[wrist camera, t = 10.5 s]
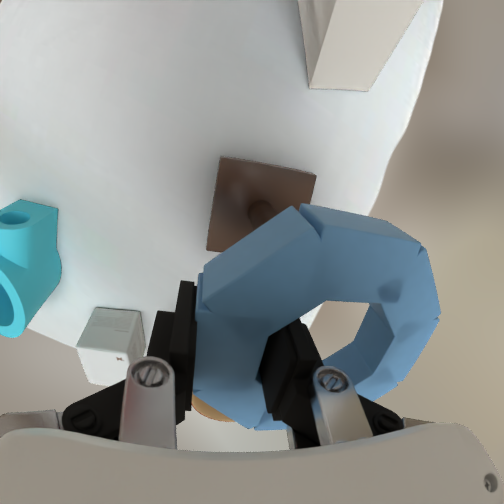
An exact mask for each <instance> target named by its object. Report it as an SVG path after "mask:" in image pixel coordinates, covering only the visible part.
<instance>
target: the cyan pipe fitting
mask: <svg viewBox="0 0 504 504" xmlns="http://www.w3.org/2000/svg"><path fill="white" fill-rule="evenodd" d="M57 216H58V209H57V208H53V207H49V206H45V205H41V204H37V203H33V202H29V201H25V200H21V199H20V200H18V201H16V202H14V203H12V204H10V205H8V206H7V207H5V208H3V209H1V210H0V334H1V335H3V336H5V337H11V338H14V337H18V336H19V335H21V334H22V332H23V331H24V329H25V328H26V327H27V325H28V324H29V322H30V321H31V320H32V318H33V317H34V315H35V314H36V313H37V311H38V310H39V309H40V307H41V306H42V305H43V303H44V302H45V301H46V299H47V298H48V297H49V295H50V294H51V293H52V292H53V290H54V289H55V288H56V286H57V285H58V283H59V281H60V278H61V261H60V257H59V254H58V251H57V249H56V239H57Z"/></svg>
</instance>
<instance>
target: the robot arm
mask: <svg viewBox="0 0 504 504" xmlns="http://www.w3.org/2000/svg"><path fill="white" fill-rule="evenodd" d="M196 296H197V286H194V282H190V281H182V280H181V282H180V287H179V293H178V298H177V304H176V310H175V313H174V312H166V311H157V314H156V318H155V322H154V326H153V330H152V335H151V339H150V343H149V347H148V352H147V356H145V357H141V358H138V359H136V360H134V361H133V362H132V363H131V364H130V365H129V367H128V370H127V375H126V379H124V380H122V381H120V382H118V383H116V384H114V385H112V386H110V387H108V388H105V389H103V390H101V391H99V392H97V393H95V394H93V395H91V396H88V397H86V398H84V399H82V400H80V401H77V402H75V403H73V404H71V405H70V406H68V407H67V408H66V409H65V411H64V412H56V410H45V411H33V412H16V413H6V414H3V415H1V416H0V504H504V483H503V481H502V479H501V477H500V475H499V473H498V471H497V469H496V467H495V465H494V464H493V462H492V460H491V459H490V457H489V455H488V453H487V452H486V450H485V449H484V447H483V445H482V444H481V443H480V441H479V440H478V439H477V437H476V436H475V435H474V434H473V432H472V431H471V430H469V428H467V427H465V426H463V425H460V424H456V423H444V422H440V423H435V422H429V421H422V420H415V419H410V418H405V417H403V418H402V419H401V418H400V417H399V416H398V415H397V414H396V413H394V412H393V411H391V410H389V409H387V408H384V407H383V406H381V405H379V404H377V403H375V402H373V401H371V400H369V399H367V398H365V397H363V396H361V395H359V394H357V392H356V390H355V387H354V385H353V382H352V380H351V378H350V377H349V375H348V374H347V373H346V372H345V371H343V370H341V369H340V368H337V367H334V366H324V364H323V362H322V360H321V357H320V355H319V353H318V351H317V348H316V346H315V344H314V341H313V339H312V337H311V335H310V332H309V330H308V328H307V326H306V324H304V323H301V320H300V318H298V319H296V320H295V321H293V322H291V323H290V324H288V325H287V326H285V327H283V328H281V329H280V330H278V331H277V332H275V333H273V334H272V335H270V336H268V340H267V343H266V346H265V350H264V353H263V356H262V360H261V363H260V366H259V370H260V375H261V380H262V389H263V394H264V399H265V404H266V409H267V412H268V414H272V417H273V421H282V422H283V423H285V424H286V425H287V436H288V442H289V449H290V450H283V451H268V452H203V451H202V452H201V451H188V450H187V451H186V450H177V438H176V425H178V424H179V423H181V422H182V421H184V420H185V411H191V405H192V392H193V380H194V369H195V357H196V338H197V321H195V309H196Z"/></svg>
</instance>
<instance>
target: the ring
mask: <svg viewBox="0 0 504 504" xmlns="http://www.w3.org/2000/svg"><path fill="white" fill-rule="evenodd" d="M326 300H328V301H343V302H362V303H369V304H370V306H369V308H368V310H367V313H366V315H365V317H364V319H363V321H362V324H361V326H360V328H359V330H358V332H357V334H356V337H355V339H354V341H353V342H351V343H350V344H348V345H347V346H345V347H344V348H342V349H340V350H339V351H337V352H336V353H334V354H332V355H331V356H329V357H328V358H326V359H324V360H322V362H323V364H324V366H334V367H337V368H340V369H341V370H343V371H345V372H346V373H347V374H348V375H349V377H350V378H351V380H352V382H353V385H354V387H355V390H356V392H357V394H359V395H361V396H363V397H365V398H367V399H369V400H371V401H374V400H376V399H377V398H379V397H381V396H382V395H384V394H386V393H387V392H389V391H390V390H392V389H393V388H395V387H396V386H397V385H398V384H397V382H400V381H403V380H404V378H405V376H406V375H407V374H408V372H409V371H410V369H411V368H412V366H413V365H414V363H415V362H416V360H417V358H418V357H419V355H420V354H421V351H422V350H423V349H424V347H425V345H426V344H427V342H428V340H429V338H430V337H431V335H432V333H433V331H434V330H435V328H436V326H437V324H438V322H439V319H438V316H439V315H440V314H441V311H440V306H439V301H438V296H437V291H436V286H435V283H434V278H433V273H432V269H431V265H430V262H429V258H428V254H427V250H426V249H425V248H424V247H423V246H421V243H420V242H419V241H417V240H416V239H414V238H412V237H411V236H409V235H408V234H406V233H405V232H403V231H402V230H400V229H399V228H397V227H396V226H394V225H392V224H391V223H389V222H388V221H385V220H381V219H377V218H372V217H368V216H363V215H359V214H354V213H349V212H345V211H340V210H335V209H330V208H325V207H320V206H315V205H310V204H304V203H301V205H300V208H299V212H298V211H297V210H296V209H295V208H294V207H293V206H290V207H288V208H287V209H285V210H284V211H282V212H281V213H279V214H278V215H276V216H275V217H273V218H272V219H270V220H269V221H268V222H266V223H265V224H263V225H262V226H260V227H259V228H257V229H256V230H254V231H253V232H251V233H250V234H248V235H247V236H246V237H244V238H243V239H241V240H240V241H238V242H237V243H235V244H234V245H233V246H231V247H230V248H228V249H227V250H225V251H224V252H222V253H221V254H219V255H218V256H217V257H215V258H214V259H212V260H211V261H209V262H208V263H207V264H205V265H204V272H203V273H199V275H198V284H197V296H196V309H195V321H197V338H196V357H195V369H194V380H193V394H194V395H195V396H196V397H198V398H199V399H201V400H202V401H204V402H205V403H207V404H208V405H210V406H211V407H213V408H214V409H216V410H218V411H219V412H221V413H222V414H224V415H225V416H227V417H229V418H230V419H232V420H234V421H235V422H237V423H239V424H240V425H242V426H244V427H246V428H247V429H250V428H253V427H254V429H255V430H282V429H287V425H286V424H285V423H283V422H282V421H273V417H272V414H268V412H267V409H266V404H265V399H264V394H263V389H262V380H261V375H260V370H259V366H260V363H261V360H262V356H263V353H264V350H265V346H266V343H267V340H268V336H270V335H272V334H273V333H275V332H277V331H278V330H280V329H281V328H283V327H285V326H287V325H288V324H290V323H291V322H293V321H295V320H296V319H298V318H300V317H301V316H303V315H304V314H306V313H307V312H309V311H311V310H312V309H314V308H315V307H317V306H318V305H320V304H321V303H323V302H325V301H326Z"/></svg>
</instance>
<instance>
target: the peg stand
mask: <svg viewBox="0 0 504 504" xmlns="http://www.w3.org/2000/svg"><path fill="white" fill-rule="evenodd" d="M316 177H317V175H315V174H313V173H310V172H306V171H301V170H297V169H292V168H287V167H282V166H277V165H272V164H267V163H262V162H256V161H250V160H245V159H239V158H232V157H226V156H220V162H219V167H218V173H217V179H216V185H215V191H214V197H213V204H212V210H211V217H210V223H209V230H208V237H207V245H206V250H207V251H215V252H224V251H225V250H227V249H228V248H230V247H231V246H233V245H234V244H235V243H237V242H238V241H240V240H241V239H243V238H244V237H246V236H247V235H248V234H250V233H251V232H253V231H254V230H256V229H257V228H259V227H260V226H262V225H263V224H265V223H266V222H268V221H269V220H270V219H272V218H273V217H275V216H276V215H278V214H279V213H281V212H282V211H284V210H285V209H287V208H288V207H290V206H293V207H294V208H295V209H296V210H297V211H298V212H299V208H300V205H301V203H304V204H310V201H311V197H312V193H313V189H314V185H315V181H316Z"/></svg>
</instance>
